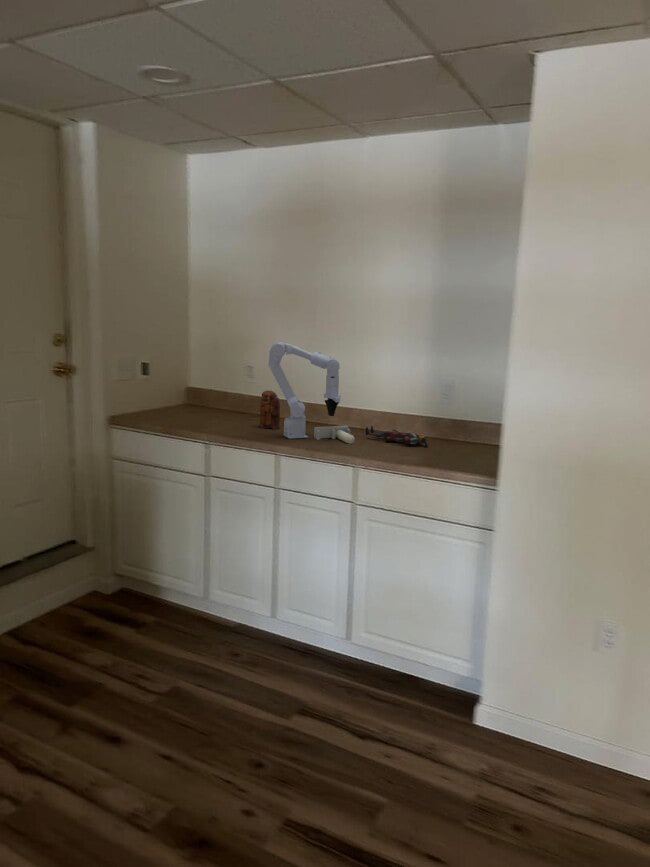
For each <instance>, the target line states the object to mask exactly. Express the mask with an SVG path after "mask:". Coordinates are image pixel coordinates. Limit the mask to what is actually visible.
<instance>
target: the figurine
mask: <svg viewBox="0 0 650 867" xmlns="http://www.w3.org/2000/svg"><path fill="white" fill-rule="evenodd" d="M374 430H375V429H374V426H373V425H371V427H370V432H369V428H368V426H367V427H365V436H367V435H368V436H373V437H376V438H382V439H383V440H384V442H393V441H395V442H399V443H404V444H405V445H417V444H419V443H421V444H424V448H428V446H429V445H428V443H427V442H428V441H427V438H426V436H424V435H419V434H417V433H414V432H403V431H398V430H396V429H391V430H390V429H389V430H388V431H374Z"/></svg>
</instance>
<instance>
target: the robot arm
mask: <svg viewBox="0 0 650 867" xmlns="http://www.w3.org/2000/svg"><path fill="white" fill-rule="evenodd" d="M268 352H269V356H268V367H269V369H270V371H271V373H272V375H273V377H274V379H275V380H276V382H277V385H278V386H279V388H280V389H281V390H280V391H281V393H282V394H283V395H284V397H285V399H286V401H287V404H288V407H289V412H290V415H289V417H286V418H284V422H283V434H282V435H283V436H284V437H286V438H288V439H303V438H306V439H307V438H309V436H308V435H306V420H307V419H306V418H307V417H306V415H305V412H306V406H305V404H304V402H302V401H301V400H300V398H299V397H298V396H297V394H296V393H295V390H294V388H293V386H292V385H291V383H290V381H289V379H288V378H287V376H286V373H285V371H284V370H283V368H282V365H281V362H282V360H283V359H282V358H283V356H285V355H287V356H288V355H295V356H298V357H301V358H304V359H306V360H309V361H310V364H312V365H314V366H315V367H317V368H320V369H324V370H325V369H326V376H325V393H323V398H324V399H325V400H324V403H325V407H326V408H327V415H328V417H334V416H335V413H336V410H337V407H338V405H339V404H340V403H341V398H342V397H341V395H340V394H339V389H340V388H339V385H340V384H339V383H340V376H339V374H340V372H339V370H340V362H339V360H338V359H336V358H334V357H333V358H332V356H327V355H325V354H322V352H320V351H318V352H317V351H315V352H309V351H307V350H305V349H302V348H301V347H298V346H296V345H294V344H291V343H287V342H283V341H280V340H279V341H275V343H273V344H271V348H270V350H269V351H268Z"/></svg>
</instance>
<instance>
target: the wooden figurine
mask: <svg viewBox="0 0 650 867" xmlns="http://www.w3.org/2000/svg"><path fill="white" fill-rule="evenodd" d="M280 403H281V402H280V399H279V397H278V395H277V393H276V392H275V391H273V390H269V389H268V390H264V391H262V392H261V399H260V409H259V410H260V411H259V427H260V428H262V429H271V430H277V429H280V422H281V421H280V419H281V415H280V411H281V410H280V408H281V404H280Z"/></svg>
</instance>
